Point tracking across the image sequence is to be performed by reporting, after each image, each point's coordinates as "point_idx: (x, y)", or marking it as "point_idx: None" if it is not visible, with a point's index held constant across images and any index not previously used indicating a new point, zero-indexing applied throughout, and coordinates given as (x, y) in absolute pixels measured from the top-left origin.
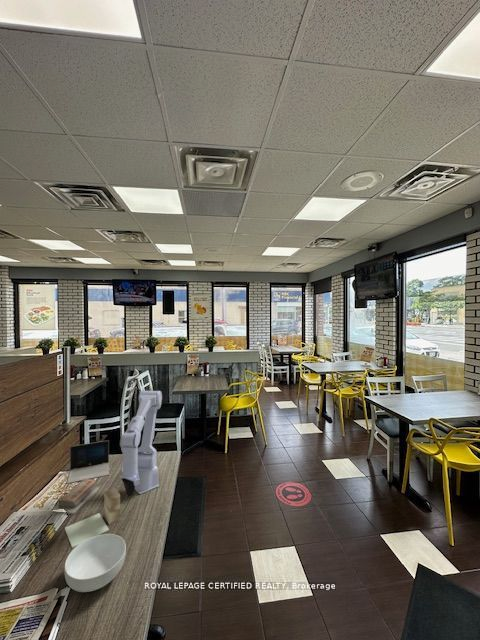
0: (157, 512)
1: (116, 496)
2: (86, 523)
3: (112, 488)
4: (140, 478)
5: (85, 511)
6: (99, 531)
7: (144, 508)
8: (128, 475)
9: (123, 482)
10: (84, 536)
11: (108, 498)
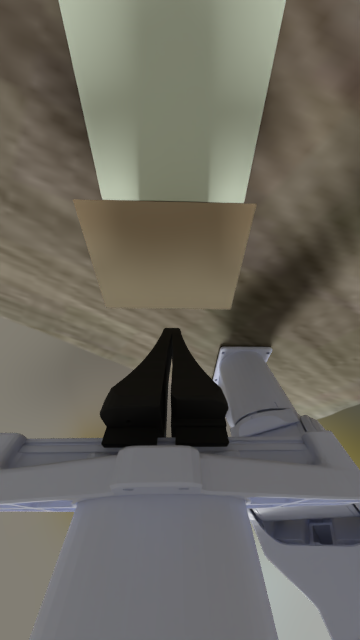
0: (117, 348)
1: (99, 277)
2: (220, 94)
3: (233, 290)
4: (245, 387)
5: (325, 139)
6: (110, 147)
7: (153, 334)
8: (73, 521)
9: (194, 375)
10: (108, 19)
11: (109, 201)
